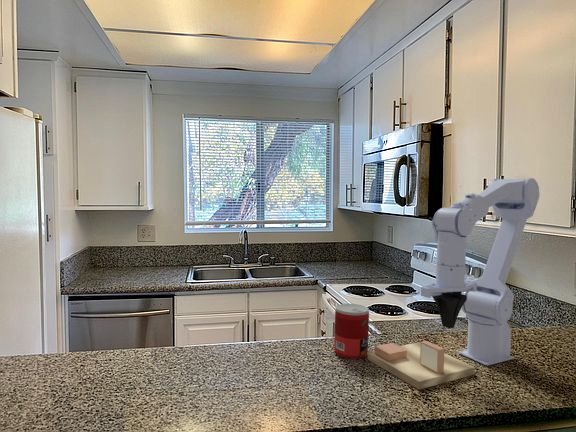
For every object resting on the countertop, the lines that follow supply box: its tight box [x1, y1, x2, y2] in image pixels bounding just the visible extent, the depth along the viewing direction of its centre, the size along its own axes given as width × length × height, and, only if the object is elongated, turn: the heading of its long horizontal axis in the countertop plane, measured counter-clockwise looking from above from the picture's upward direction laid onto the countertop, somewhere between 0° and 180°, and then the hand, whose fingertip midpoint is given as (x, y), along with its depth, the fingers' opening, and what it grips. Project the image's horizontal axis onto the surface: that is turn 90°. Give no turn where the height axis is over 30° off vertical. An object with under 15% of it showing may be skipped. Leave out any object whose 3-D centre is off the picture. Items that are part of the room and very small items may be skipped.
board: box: [367, 341, 476, 391], centre depth 91 cm, size 16×16×2 cm
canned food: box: [333, 303, 370, 360], centre depth 98 cm, size 8×8×11 cm
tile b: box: [420, 340, 445, 374], centre depth 86 cm, size 2×5×5 cm, turn 27°
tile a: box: [374, 342, 407, 361], centre depth 93 cm, size 2×5×5 cm
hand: (448, 326), depth 88 cm, fingers closed
